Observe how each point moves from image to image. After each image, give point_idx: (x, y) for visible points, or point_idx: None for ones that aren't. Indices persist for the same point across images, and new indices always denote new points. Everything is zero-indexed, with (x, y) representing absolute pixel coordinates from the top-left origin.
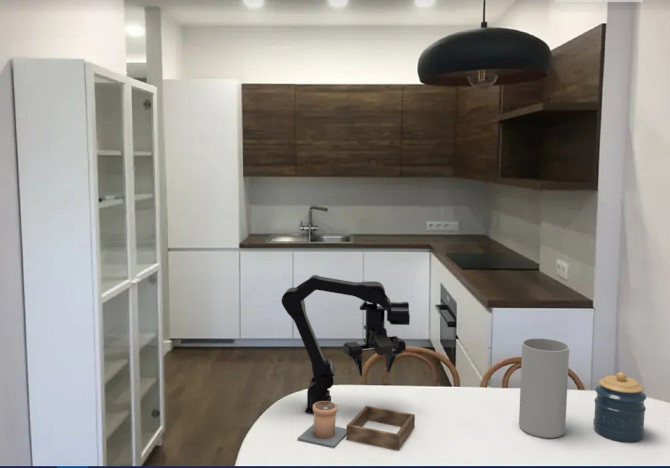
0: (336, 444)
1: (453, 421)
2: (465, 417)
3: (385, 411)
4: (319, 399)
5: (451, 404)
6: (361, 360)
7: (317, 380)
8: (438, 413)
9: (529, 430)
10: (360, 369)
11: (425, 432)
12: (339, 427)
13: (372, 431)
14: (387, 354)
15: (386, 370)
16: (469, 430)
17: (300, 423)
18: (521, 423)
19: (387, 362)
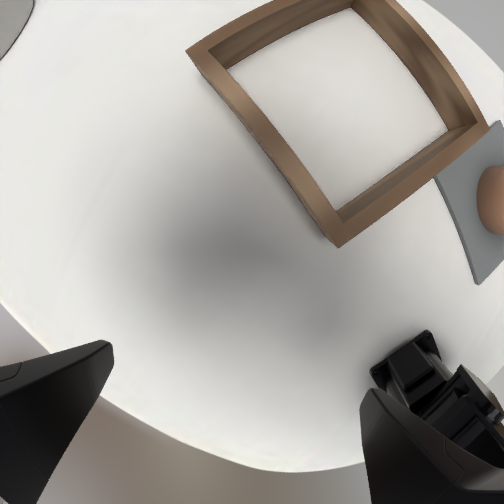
0: (492, 126)
1: (71, 84)
2: (37, 102)
3: (285, 142)
4: (448, 372)
5: (17, 196)
6: (465, 487)
7: (502, 409)
8: (65, 150)
9: (28, 5)
10: (413, 422)
11: (192, 36)
12: (453, 210)
13: (430, 39)
14: (30, 465)
15: (110, 371)
16: (84, 28)
17: (489, 307)
18: (16, 22)
19: (67, 409)
